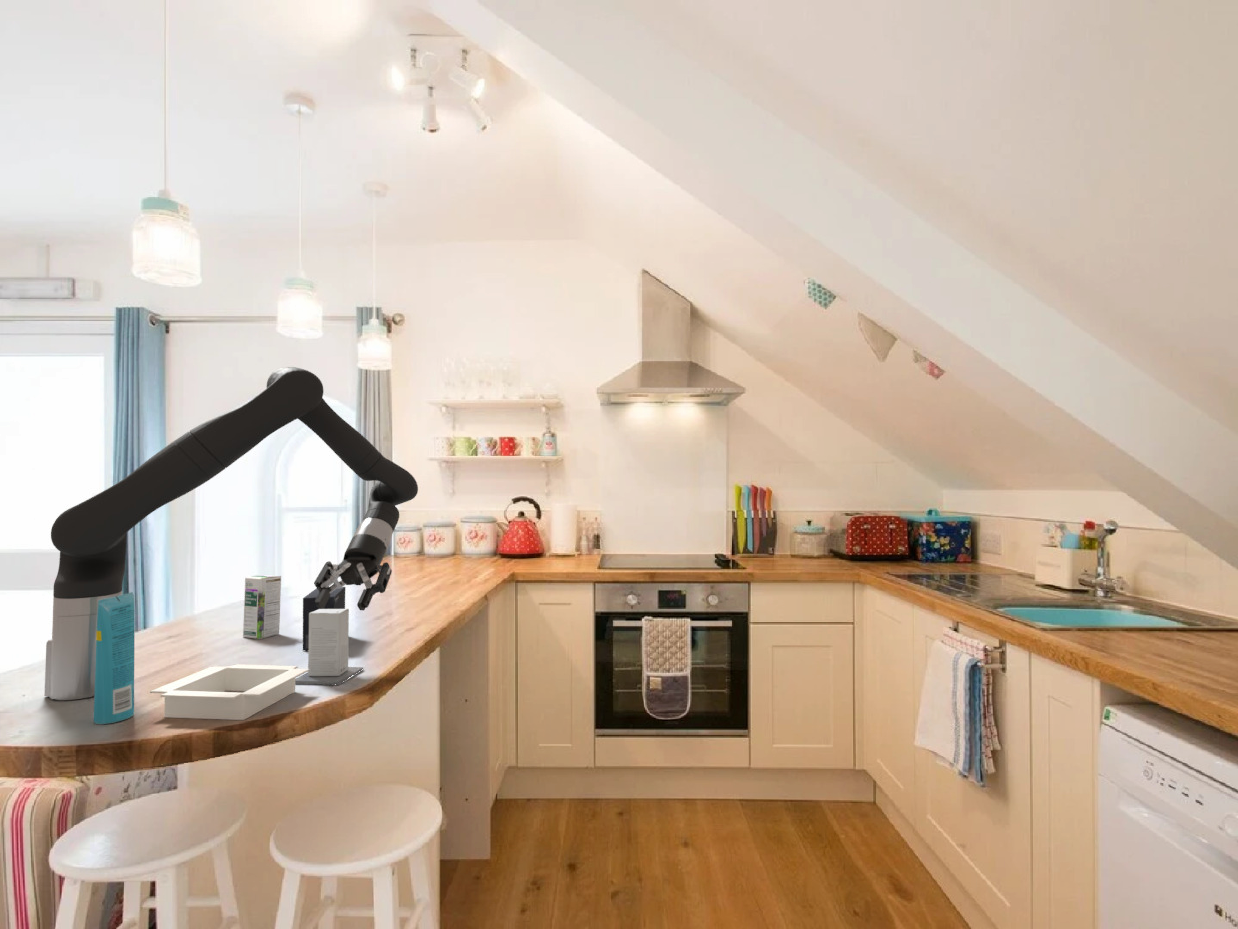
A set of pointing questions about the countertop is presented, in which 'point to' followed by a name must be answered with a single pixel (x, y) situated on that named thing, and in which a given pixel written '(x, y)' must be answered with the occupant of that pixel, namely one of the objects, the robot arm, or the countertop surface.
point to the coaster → (327, 677)
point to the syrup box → (262, 606)
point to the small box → (309, 606)
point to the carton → (209, 700)
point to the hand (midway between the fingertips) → (339, 607)
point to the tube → (114, 660)
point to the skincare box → (328, 642)
